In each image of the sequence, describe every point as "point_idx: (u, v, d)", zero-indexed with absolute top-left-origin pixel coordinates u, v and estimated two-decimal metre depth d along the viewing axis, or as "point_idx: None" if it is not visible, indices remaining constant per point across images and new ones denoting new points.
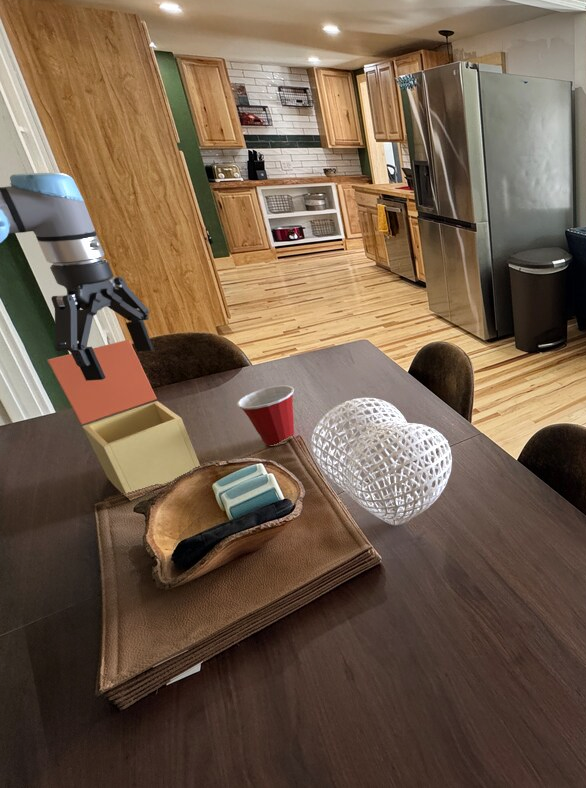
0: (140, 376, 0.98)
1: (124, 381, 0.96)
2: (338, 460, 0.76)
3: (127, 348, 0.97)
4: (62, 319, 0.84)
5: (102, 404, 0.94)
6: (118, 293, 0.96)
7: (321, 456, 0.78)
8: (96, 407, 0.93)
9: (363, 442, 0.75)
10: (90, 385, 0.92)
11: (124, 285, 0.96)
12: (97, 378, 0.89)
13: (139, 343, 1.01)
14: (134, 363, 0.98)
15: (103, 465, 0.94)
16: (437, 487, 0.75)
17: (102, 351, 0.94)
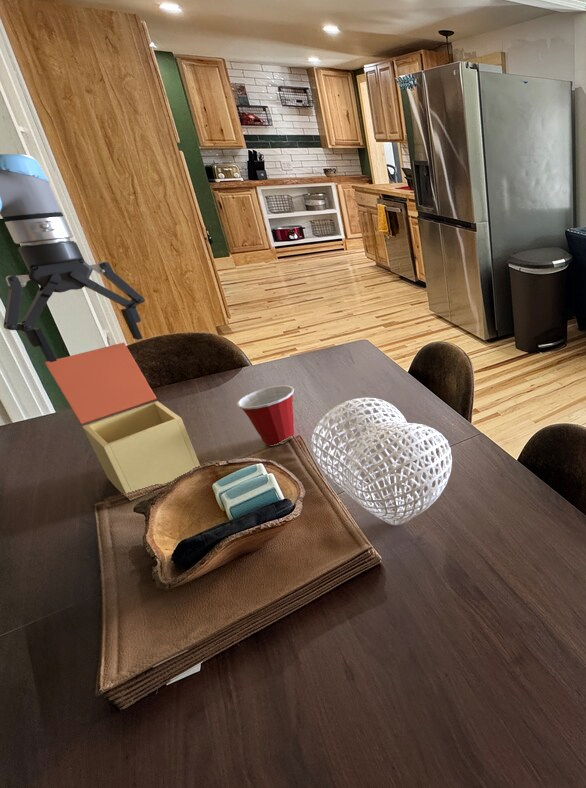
0: (137, 376, 1.00)
1: (122, 381, 0.98)
2: (338, 460, 0.76)
3: (122, 350, 0.99)
4: (8, 299, 0.85)
5: (101, 404, 0.95)
6: (108, 278, 0.97)
7: (321, 456, 0.78)
8: (95, 406, 0.94)
9: (363, 442, 0.75)
10: (88, 385, 0.94)
11: (109, 271, 0.95)
12: (49, 360, 0.90)
13: (131, 331, 1.00)
14: (130, 364, 1.00)
15: (103, 465, 0.94)
16: (437, 487, 0.75)
17: (98, 353, 0.96)
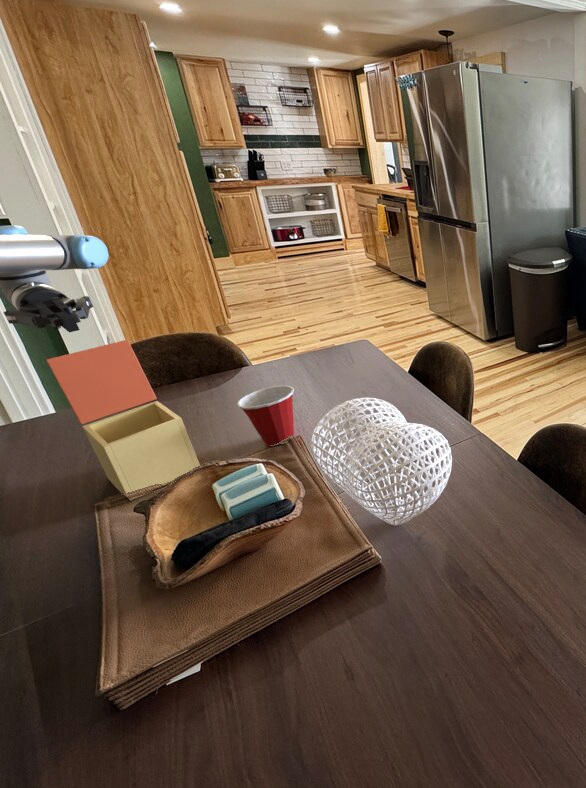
0: (139, 376, 0.99)
1: (123, 381, 0.97)
2: (338, 460, 0.76)
3: (126, 348, 0.97)
4: (21, 319, 0.96)
5: (102, 404, 0.94)
6: None
7: (321, 456, 0.78)
8: (96, 407, 0.93)
9: (363, 442, 0.75)
10: (89, 385, 0.93)
11: (81, 298, 1.04)
12: (64, 323, 0.93)
13: None
14: (133, 363, 0.98)
15: (103, 465, 0.94)
16: (437, 487, 0.75)
17: (101, 351, 0.94)
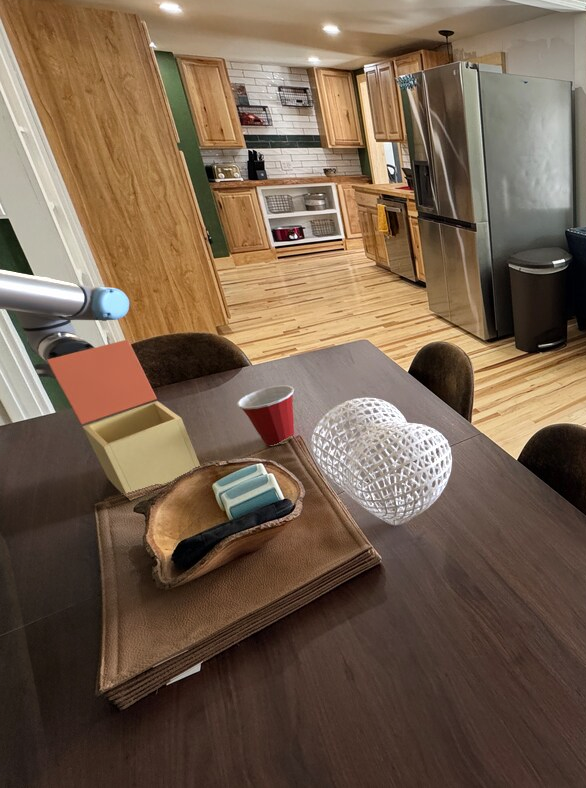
0: (139, 376, 0.99)
1: (123, 381, 0.97)
2: (338, 460, 0.76)
3: (126, 348, 0.97)
4: (51, 372, 0.97)
5: (102, 404, 0.94)
6: None
7: (321, 456, 0.78)
8: (96, 407, 0.93)
9: (363, 442, 0.75)
10: (89, 385, 0.93)
11: None
12: None
13: None
14: (133, 363, 0.98)
15: (103, 465, 0.94)
16: (437, 487, 0.75)
17: (101, 351, 0.94)
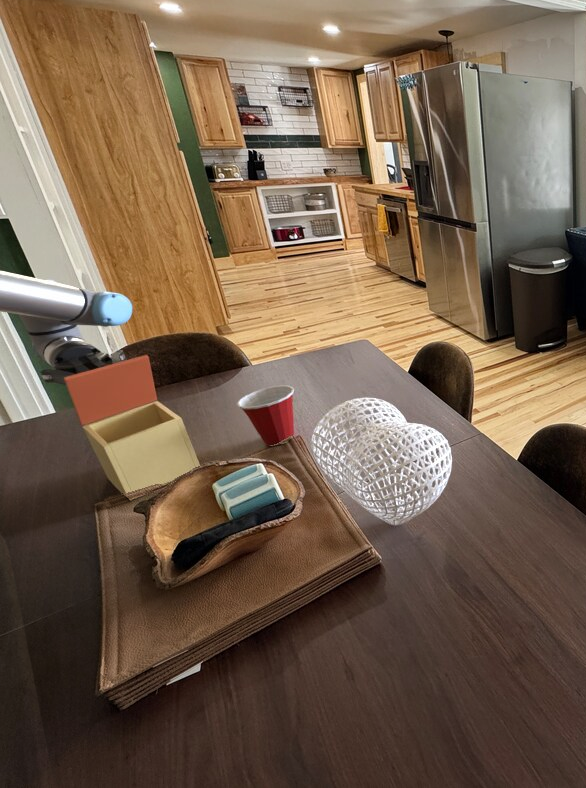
0: (148, 384, 0.97)
1: (132, 389, 0.95)
2: (338, 460, 0.76)
3: (144, 364, 0.93)
4: (58, 378, 0.95)
5: (106, 409, 0.93)
6: None
7: (321, 456, 0.78)
8: (99, 411, 0.93)
9: (363, 442, 0.75)
10: (99, 395, 0.91)
11: (116, 353, 1.04)
12: None
13: None
14: (146, 375, 0.95)
15: (103, 465, 0.94)
16: (437, 487, 0.75)
17: (120, 368, 0.90)
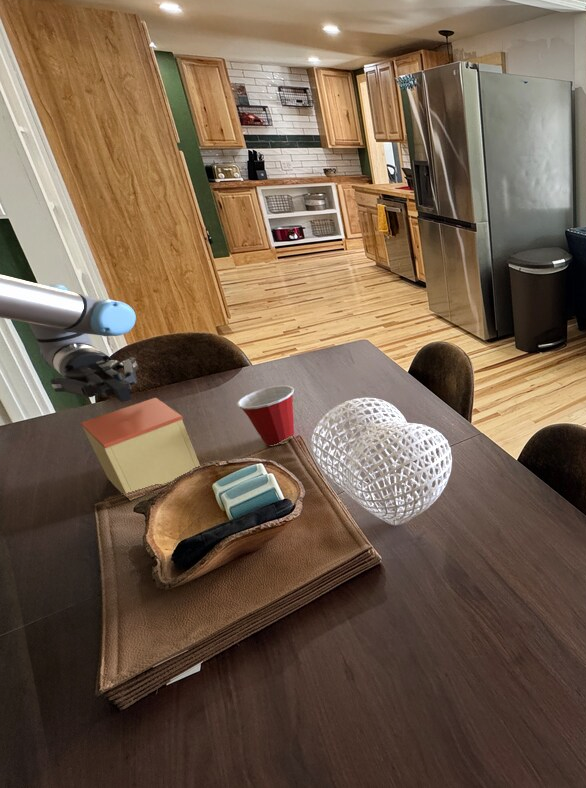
0: None
1: None
2: (338, 460, 0.76)
3: None
4: (68, 387, 0.92)
5: None
6: None
7: (321, 456, 0.78)
8: None
9: (363, 442, 0.75)
10: None
11: (128, 361, 1.00)
12: (117, 393, 0.89)
13: None
14: None
15: (103, 465, 0.94)
16: (437, 487, 0.75)
17: None
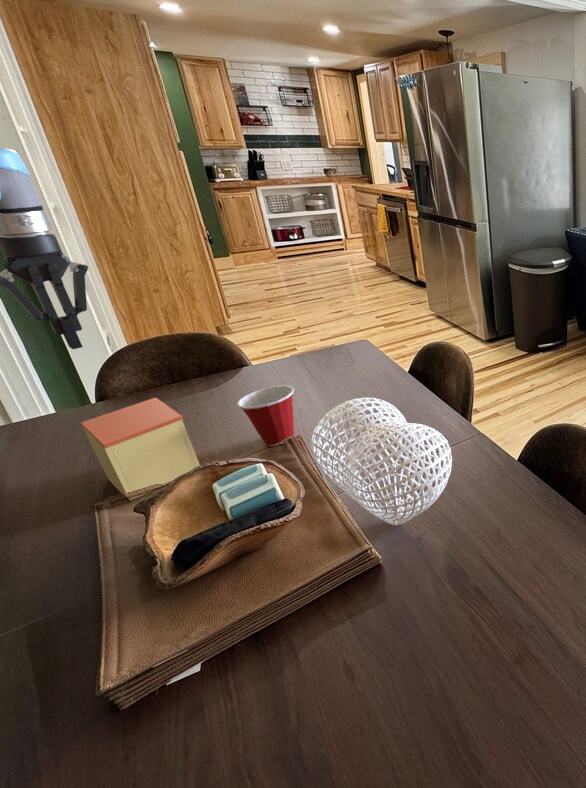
0: None
1: None
2: (338, 460, 0.76)
3: None
4: (14, 296, 0.91)
5: None
6: (74, 278, 0.98)
7: (321, 456, 0.78)
8: None
9: (363, 442, 0.75)
10: None
11: (81, 273, 0.97)
12: (71, 347, 0.99)
13: None
14: None
15: (103, 465, 0.94)
16: (437, 487, 0.75)
17: None
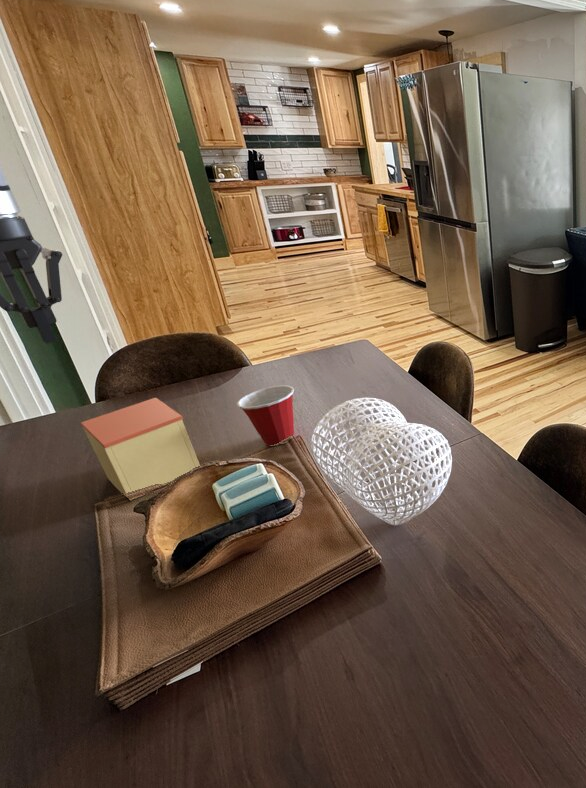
0: None
1: None
2: (338, 460, 0.76)
3: None
4: None
5: None
6: (47, 266, 0.89)
7: (321, 456, 0.78)
8: None
9: (363, 442, 0.75)
10: None
11: (54, 260, 0.89)
12: (45, 341, 0.91)
13: None
14: None
15: (103, 465, 0.94)
16: (437, 487, 0.75)
17: None
